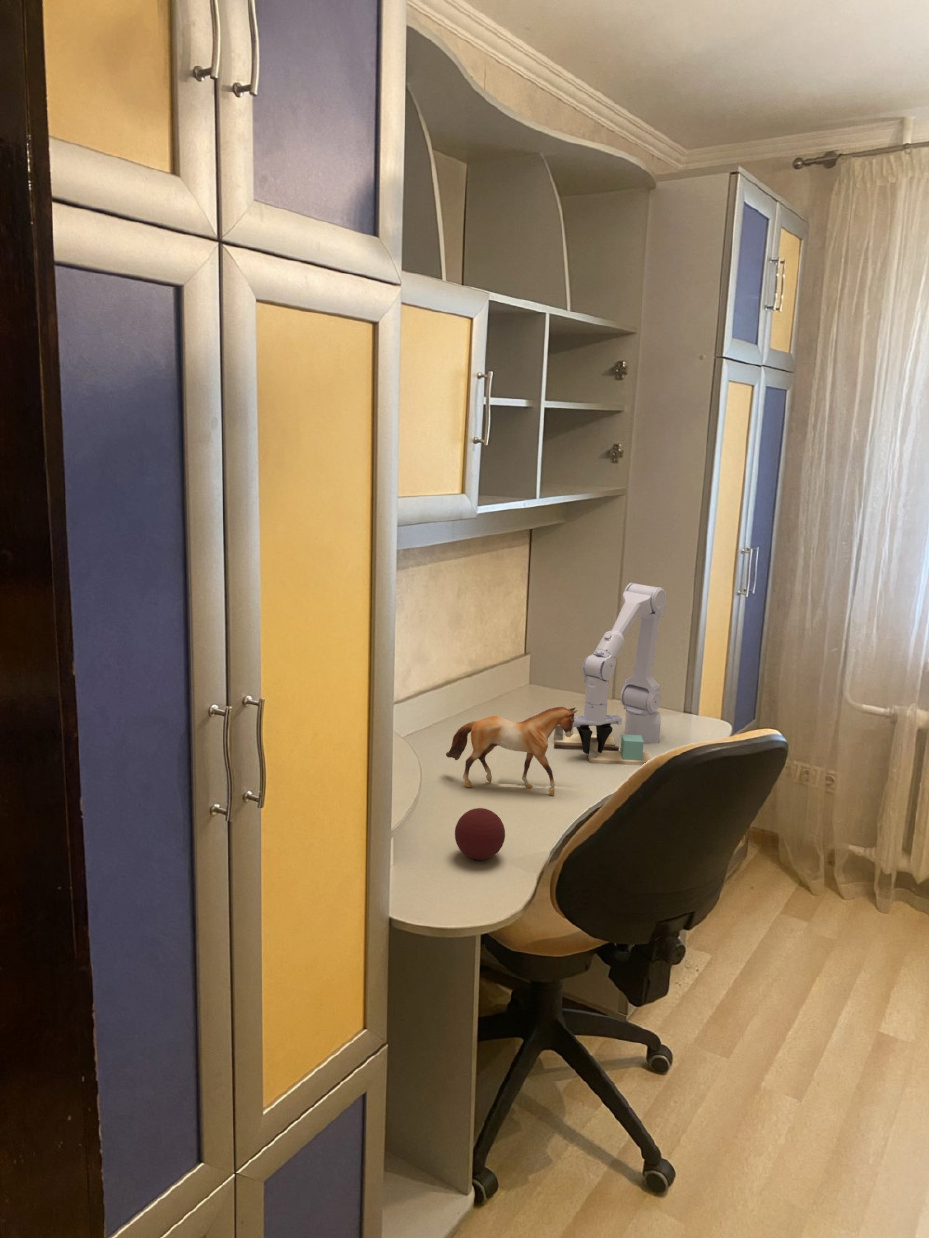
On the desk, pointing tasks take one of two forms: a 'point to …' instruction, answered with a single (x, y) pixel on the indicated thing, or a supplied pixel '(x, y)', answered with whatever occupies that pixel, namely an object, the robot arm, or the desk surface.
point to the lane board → (580, 747)
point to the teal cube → (632, 747)
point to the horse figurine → (512, 739)
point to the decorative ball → (479, 833)
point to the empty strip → (575, 738)
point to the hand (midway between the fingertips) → (592, 752)
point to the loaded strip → (611, 755)
